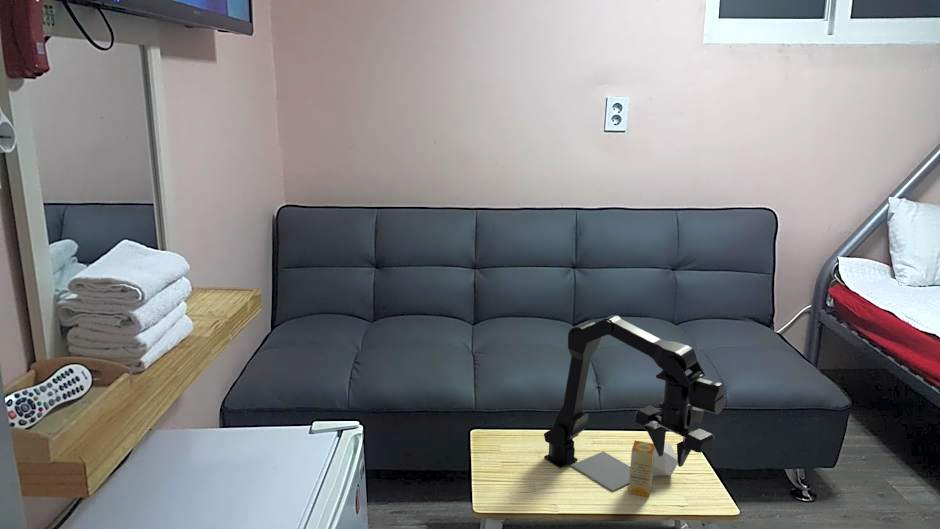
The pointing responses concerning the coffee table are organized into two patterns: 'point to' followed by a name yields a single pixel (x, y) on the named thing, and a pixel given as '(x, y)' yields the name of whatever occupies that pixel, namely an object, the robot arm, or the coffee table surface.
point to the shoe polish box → (641, 469)
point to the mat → (605, 470)
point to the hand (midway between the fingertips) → (670, 460)
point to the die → (665, 461)
